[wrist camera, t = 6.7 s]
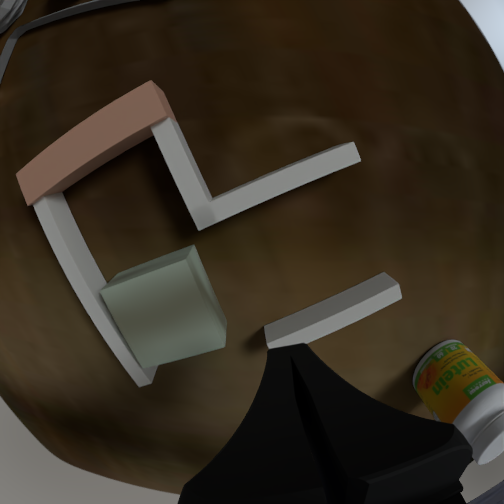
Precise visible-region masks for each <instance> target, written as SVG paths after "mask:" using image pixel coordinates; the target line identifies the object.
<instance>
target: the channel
mask: <svg viewBox="0 0 504 504" xmlns="http://www.w3.org/2000/svg"><path fill="white" fill-rule="evenodd" d="M151 130H152V132H153V134H154V136H155V139H156V141H157V143H158V145H159V148H160V150H161V152H162V154H163V156H164V159H165V161H166V163H167V165H168V167H169V169H170V172H171V174H172V176H173V178H174V180H175V182H176V184H177V187H178V189H179V191H180V193H181V195H182V197H183V199H184V201H185V204H186V206H187V208H188V210H189V212H190V214H191V216H192V218H193V220H194V222H195V224H196V226H197V228H198V231H200V230H202V229H204V228H206V227H208V226H210V225H213V224H215V223H217V222H219V221H221V220H223V219H226V218H228V217H230V216H232V215H235V214H237V213H239V212H241V211H243V210H246V209H248V208H250V207H252V206H255V205H257V204H259V203H262V202H264V201H266V200H268V199H271V198H273V197H275V196H278V195H280V194H282V193H285V192H287V191H289V190H292V189H294V188H296V187H299V186H301V185H303V184H306V183H308V182H311V181H313V180H315V179H318V178H320V177H323V176H325V175H327V174H330V173H332V172H335V171H337V170H340V169H342V168H345V167H347V166H350V165H352V164H355V163H357V162H360V161H361V159H360V156H359V154H358V151H357V149H356V146H355V144H354V142H350V143H344V144H340V145H337V146H335V147H332V148H329V149H327V150H324V151H322V152H319V153H317V154H314V155H312V156H309V157H307V158H304V159H302V160H299V161H297V162H294V163H292V164H290V165H287V166H285V167H282V168H280V169H278V170H275V171H273V172H271V173H268V174H266V175H264V176H261V177H259V178H257V179H254V180H252V181H250V182H248V183H245V184H243V185H241V186H239V187H236V188H234V189H232V190H230V191H227V192H225V193H223V194H221V195H219V196H217V197H214V198H212V197H211V195H210V192H209V190H208V188H207V186H206V184H205V182H204V179H203V177H202V175H201V173H200V171H199V169H198V167H197V164H196V162H195V160H194V158H193V156H192V154H191V151H190V149H189V147H188V145H187V143H186V141H185V138H184V136H183V134H182V132H181V130H180V127H179V125H178V123H177V122H175V121H174V120H173V119H171V118H170V117H168V118H167V119H165V120H163V121H161V122H159V123H157V124H155V125H153V126H151ZM33 206H34V209H35V211H36V214H37V216H38V218H39V221H40V223H41V225H42V227H43V230H44V232H45V234H46V236H47V238H48V240H49V243H50V245H51V247H52V249H53V251H54V253H55V255H56V257H57V259H58V261H59V263H60V265H61V267H62V269H63V270H64V272H65V274H66V276H67V278H68V280H69V282H70V283H71V285H72V287H73V289H74V291H75V292H76V294H77V296H78V298H79V299H80V301H81V303H82V304H83V306H84V308H85V309H86V311H87V313H88V314H89V316H90V318H91V319H92V321H93V322H94V324H95V326H96V327H97V329H98V330H99V332H100V333H101V335H102V336H103V338H104V339H105V341H106V342H107V344H108V345H109V347H110V348H111V350H112V351H113V353H114V354H115V355H116V357H117V358H118V360H119V361H120V362H121V364H122V365H123V367H124V368H125V369H126V371H127V372H128V373H129V375H130V376H131V377H132V379H133V380H134V381H135V383H136V384H137V385H138V386H139V387H141V386H145V385H148V384H152V381H153V378H154V376H155V373H156V370H157V367H158V365H156V366H152V367H148V368H144V369H143V368H142V366H141V365H140V363H139V361H138V360H137V358H136V357H135V355H134V353H133V351H132V350H131V348H130V346H129V345H128V343H127V341H126V340H125V338H124V336H123V334H122V332H121V331H120V329H119V327H118V325H117V323H116V322H115V320H114V318H113V316H112V314H111V312H110V310H109V308H108V307H107V305H106V303H105V301H104V299H103V297H102V295H101V293H100V290H101V289H102V288H103V287H104V286H105V285H106V284H107V283H106V281H105V279H104V277H103V275H102V274H101V272H100V270H99V268H98V266H97V264H96V262H95V261H94V259H93V257H92V255H91V253H90V251H89V249H88V247H87V245H86V243H85V241H84V239H83V237H82V235H81V233H80V231H79V229H78V227H77V224H76V222H75V220H74V218H73V216H72V214H71V211H70V209H69V207H68V205H67V202H66V200H65V198H64V195H63V193H62V192H59V193H55V194H50V195H45V196H43V197H42V198H40V199H39V200H38V201H37V202H35V203H34V204H33ZM401 298H402V296H401V291H400V287H399V283H397V282H396V281H395V280H394V279H392V278H391V277H390V276H389V275H387V274H386V273H385V272H383V273H381V274H379V275H376V276H374V277H372V278H370V279H368V280H366V281H364V282H362V283H360V284H358V285H356V286H354V287H352V288H349V289H347V290H345V291H343V292H341V293H339V294H337V295H334V296H332V297H330V298H328V299H326V300H323V301H321V302H319V303H317V304H314V305H312V306H310V307H308V308H305V309H303V310H301V311H298V312H296V313H294V314H291V315H289V316H287V317H284V318H282V319H279V320H277V321H275V322H272V323H270V324H267V325H265V326H264V330H265V337H266V343H267V345H268V347H269V349H271V348H277V347H282V346H288V345H293V344H299V343H305V344H307V343H309V342H311V341H314V340H316V339H318V338H321V337H323V336H325V335H327V334H330V333H332V332H334V331H336V330H339V329H341V328H343V327H345V326H347V325H349V324H351V323H354V322H356V321H358V320H360V319H362V318H364V317H366V316H368V315H370V314H372V313H374V312H376V311H378V310H380V309H382V308H384V307H386V306H388V305H390V304H392V303H394V302H396V301H398V300H400V299H401Z"/></svg>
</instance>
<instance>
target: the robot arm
mask: <svg viewBox="0 0 504 504" xmlns="http://www.w3.org/2000/svg"><path fill="white" fill-rule="evenodd" d="M311 453H312V454H311ZM472 454H473V448H472V447H471V445H470V444H469V442H468V441H467V439H466V438H465V437H464V435H463V434H462V433H461V432H460V431H459V430H458V429H457V427H456V426H455V425H454V424H450V423H445V422H440V421H435V420H430V419H425V418H421V417H418V416H415V415H412V414H408V413H405V412H403V411H400V410H397V409H395V408H393V407H390V406H388V405H386V404H383V403H381V402H379V401H377V400H375V399H373V398H371V397H370V396H368V395H366V394H364V393H363V392H361V391H360V390H358V389H357V388H355V387H354V386H352V385H351V384H349V383H348V382H347V381H345V380H344V379H343V378H341V377H340V376H339V375H338V374H336V373H335V372H334V371H333V370H332V369H331V368H329V367H328V366H327V365H326V364H325V363H324V362H323V361H322V360H321V359H320V358H319V357H318V356H317V355H316V354H315V353H314V352H313V351H312V350H311V349H310V347H309V346H308V345H307V344H305V343H299V344H293V345H288V346H282V347H277V348H271V349H269V350H268V351H267V362H266V367H265V371H264V374H263V377H262V380H261V383H260V386H259V389H258V391H257V393H256V396H255V398H254V400H253V403H252V405H251V407H250V409H249V411H248V412H247V414H246V416H245V418H244V419H243V421H242V423H241V424H240V426H239V427H238V429H237V430H236V432H235V433H234V434H233V436H232V437H231V439H230V440H229V441H228V442H227V444H226V445H225V446H224V447H223V448H222V450H221V451H220V452H219V453H218V454H217V455H216V456H215V457H214V458H213V460H212V461H211V462H210V463H209V464H208V465H207V466H206V467H205V468H203V469H202V470H201V471H200V472H199V473H198V474H197V475H195V476H194V477H193V478H192V479H191V480H190V481H188V482H187V483H186V484H185V485H184V487H183V489H182V492H181V495H180V498H179V501H178V504H466V502H465V500H464V498H463V497H462V495H461V493H460V492H462V491H463V486H462V484H461V483H460V481H459V478H460V477H461V475H462V473H463V472H464V470H465V469H466V467H467V465H468V464H469V462H470V460H471V457H472ZM312 456H313V457H312ZM313 459H314V460H313ZM467 504H504V480H503V481H502V482H500V483H499V484H497V485H496V486H494V487H493V488H491V489H490V490H488V491H486V492H485V493H483V494H482V495H480V496H479V497H477V498H475V499H474V500H472V501H470V502H468V503H467Z"/></svg>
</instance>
